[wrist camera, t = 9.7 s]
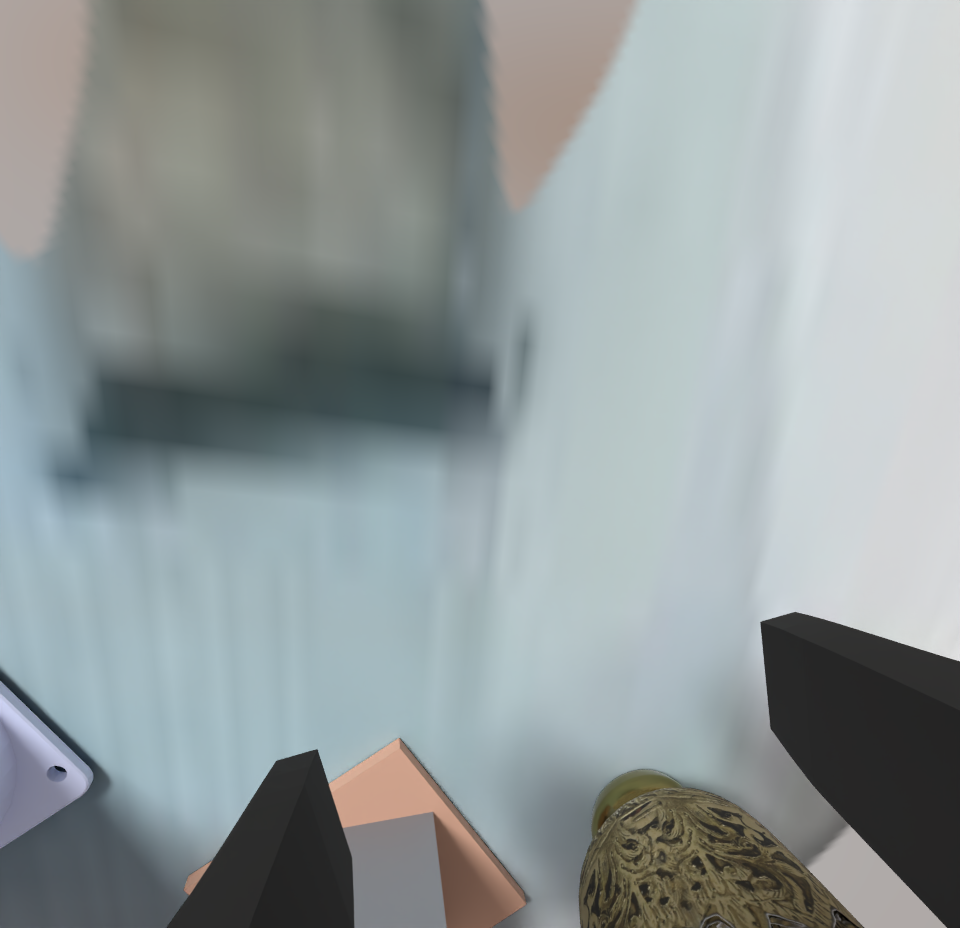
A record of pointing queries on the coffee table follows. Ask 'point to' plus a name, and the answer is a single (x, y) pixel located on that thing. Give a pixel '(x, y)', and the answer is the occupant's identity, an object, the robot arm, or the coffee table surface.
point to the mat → (462, 854)
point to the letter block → (396, 873)
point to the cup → (692, 864)
